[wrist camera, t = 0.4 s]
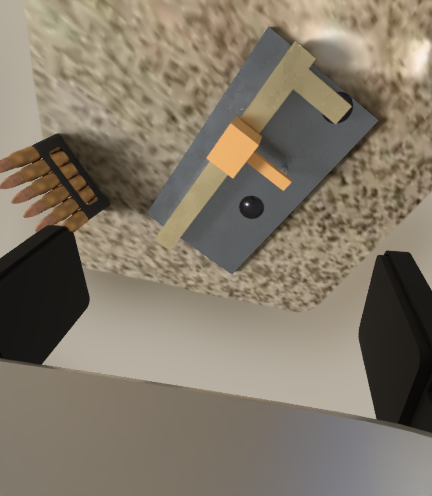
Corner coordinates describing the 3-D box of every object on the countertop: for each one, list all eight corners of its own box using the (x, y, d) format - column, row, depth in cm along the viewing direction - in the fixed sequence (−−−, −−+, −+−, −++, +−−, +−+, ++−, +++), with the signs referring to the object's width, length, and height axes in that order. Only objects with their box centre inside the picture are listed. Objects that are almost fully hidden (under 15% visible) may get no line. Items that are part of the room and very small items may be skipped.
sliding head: (240, 111, 36) (230, 123, 31) (300, 159, 38) (301, 178, 32) (219, 142, 38) (206, 158, 33) (276, 187, 40) (273, 209, 34)
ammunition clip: (48, 139, 44) (-26, 168, 34) (58, 132, 43) (-16, 159, 33) (100, 210, 48) (47, 254, 38) (110, 204, 47) (58, 248, 37)
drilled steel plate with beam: (272, 21, 33) (269, 19, 30) (380, 114, 35) (389, 121, 32) (147, 213, 46) (135, 226, 43) (230, 272, 48) (226, 289, 45)
